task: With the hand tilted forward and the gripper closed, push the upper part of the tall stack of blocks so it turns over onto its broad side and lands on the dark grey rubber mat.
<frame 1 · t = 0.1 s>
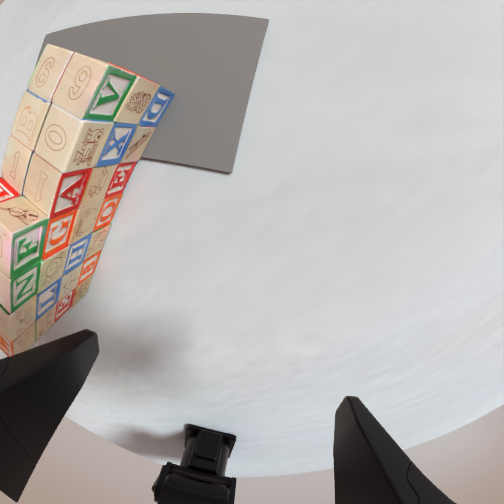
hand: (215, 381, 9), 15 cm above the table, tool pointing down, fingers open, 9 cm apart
stack of blocks: (94, 190, 22), on the table, touching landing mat
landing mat: (114, 80, 19), on the table
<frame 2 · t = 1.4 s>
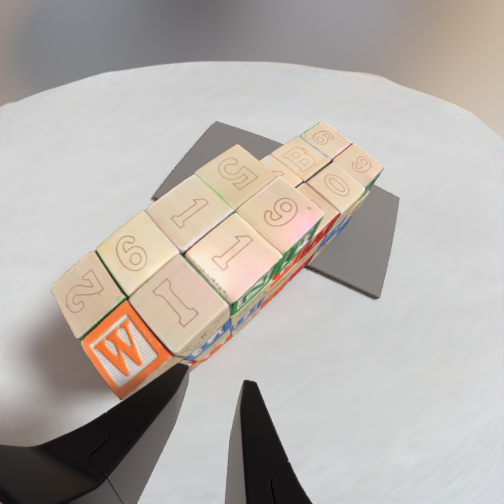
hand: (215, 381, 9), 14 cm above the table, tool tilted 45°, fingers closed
stack of blocks: (245, 276, 25), on the table, touching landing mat
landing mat: (288, 195, 29), on the table
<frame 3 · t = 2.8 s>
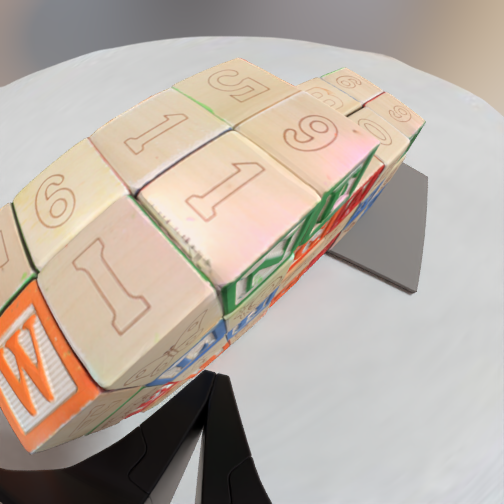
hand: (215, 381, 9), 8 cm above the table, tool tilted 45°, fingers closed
stack of blocks: (248, 264, 19), on the table, touching gripper, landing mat
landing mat: (301, 167, 23), on the table
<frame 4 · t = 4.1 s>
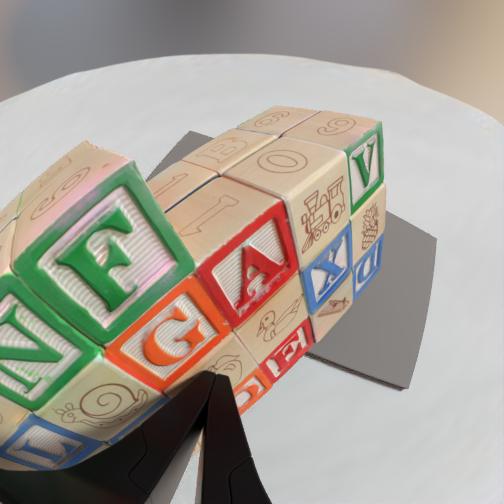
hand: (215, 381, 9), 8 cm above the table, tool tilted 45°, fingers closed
stack of blocks: (217, 370, 14), point 2 cm above the table, touching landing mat
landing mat: (287, 242, 20), on the table
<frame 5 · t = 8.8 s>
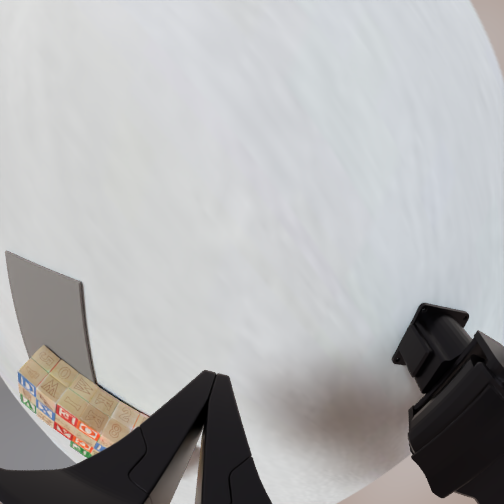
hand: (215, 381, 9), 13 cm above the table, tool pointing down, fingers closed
stack of blocks: (100, 408, 25), point 3 cm above the table, touching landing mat
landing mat: (53, 348, 28), on the table
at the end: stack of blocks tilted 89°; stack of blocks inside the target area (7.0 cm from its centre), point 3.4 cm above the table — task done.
